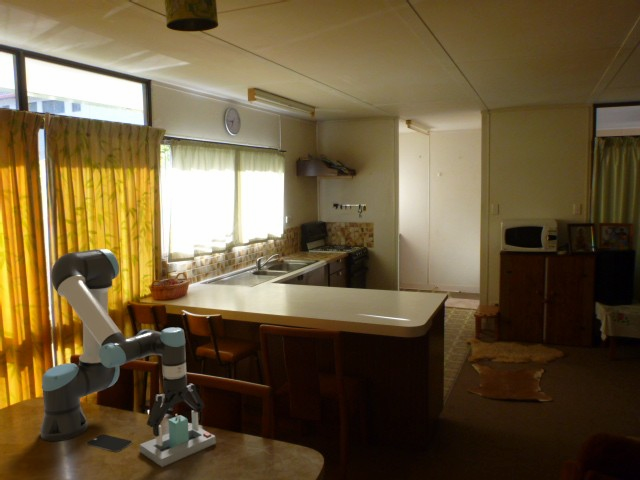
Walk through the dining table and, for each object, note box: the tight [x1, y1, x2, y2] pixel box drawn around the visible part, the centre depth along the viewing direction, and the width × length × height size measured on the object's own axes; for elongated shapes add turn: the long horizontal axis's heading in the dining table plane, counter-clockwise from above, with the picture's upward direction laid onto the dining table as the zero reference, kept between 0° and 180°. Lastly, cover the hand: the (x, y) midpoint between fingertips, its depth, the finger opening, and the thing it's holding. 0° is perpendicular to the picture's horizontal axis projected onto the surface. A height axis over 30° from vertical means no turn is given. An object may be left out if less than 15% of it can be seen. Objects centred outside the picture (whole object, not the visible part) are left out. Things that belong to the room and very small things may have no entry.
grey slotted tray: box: [139, 423, 217, 468], centre depth 176 cm, size 14×20×3 cm
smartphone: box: [85, 434, 133, 453], centre depth 181 cm, size 8×1×15 cm
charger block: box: [168, 413, 189, 448], centre depth 175 cm, size 4×4×11 cm
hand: (177, 437), depth 176 cm, fingers open, 13 cm apart
